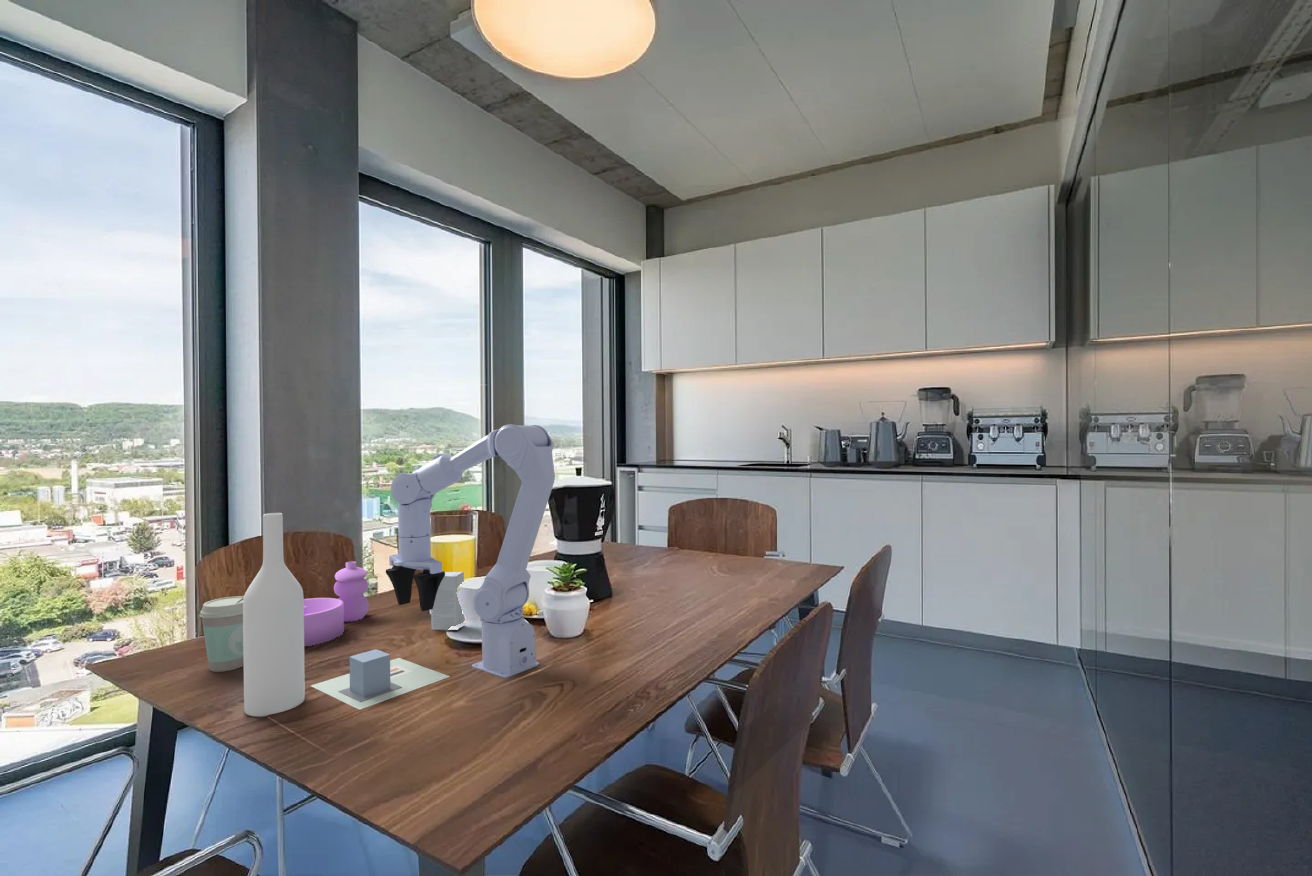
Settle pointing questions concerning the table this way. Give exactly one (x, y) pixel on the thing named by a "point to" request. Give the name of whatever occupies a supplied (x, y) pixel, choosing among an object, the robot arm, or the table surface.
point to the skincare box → (447, 603)
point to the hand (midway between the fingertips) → (415, 606)
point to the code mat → (401, 681)
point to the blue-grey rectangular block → (369, 672)
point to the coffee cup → (223, 633)
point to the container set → (336, 606)
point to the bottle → (273, 631)
